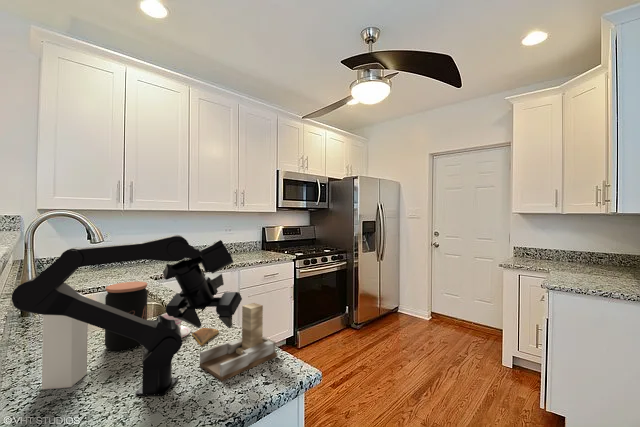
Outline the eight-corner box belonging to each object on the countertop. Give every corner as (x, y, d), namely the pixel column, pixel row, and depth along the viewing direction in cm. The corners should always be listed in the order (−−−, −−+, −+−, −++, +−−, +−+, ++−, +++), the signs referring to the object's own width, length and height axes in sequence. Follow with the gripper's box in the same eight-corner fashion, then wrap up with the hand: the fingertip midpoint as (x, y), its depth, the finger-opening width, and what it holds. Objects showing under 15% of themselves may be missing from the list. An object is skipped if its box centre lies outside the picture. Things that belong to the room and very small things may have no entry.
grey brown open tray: (221, 381, 71) (222, 365, 71) (199, 366, 78) (199, 351, 78) (276, 356, 83) (277, 342, 83) (253, 345, 91) (253, 332, 91)
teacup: (196, 335, 98) (196, 316, 98) (155, 345, 90) (155, 324, 90) (184, 325, 107) (184, 307, 107) (146, 333, 99) (146, 315, 99)
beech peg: (249, 359, 79) (249, 310, 79) (235, 352, 83) (236, 305, 84) (268, 351, 84) (268, 305, 84) (254, 345, 88) (254, 301, 88)
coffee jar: (122, 355, 84) (123, 290, 84) (95, 349, 87) (96, 287, 87) (154, 340, 94) (155, 282, 94) (129, 335, 97) (130, 280, 97)
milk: (87, 374, 74) (89, 284, 74) (71, 387, 68) (73, 290, 68) (59, 375, 73) (61, 285, 73) (40, 390, 67) (43, 291, 67)
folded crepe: (201, 347, 90) (201, 341, 90) (178, 345, 91) (178, 339, 91) (220, 334, 100) (220, 328, 100) (199, 332, 102) (199, 327, 102)
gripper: (240, 259, 77) (257, 303, 84) (178, 262, 81) (200, 304, 89) (221, 290, 68) (242, 337, 75) (152, 291, 72) (178, 336, 79)
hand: (215, 326), depth 80 cm, fingers open, 9 cm apart
